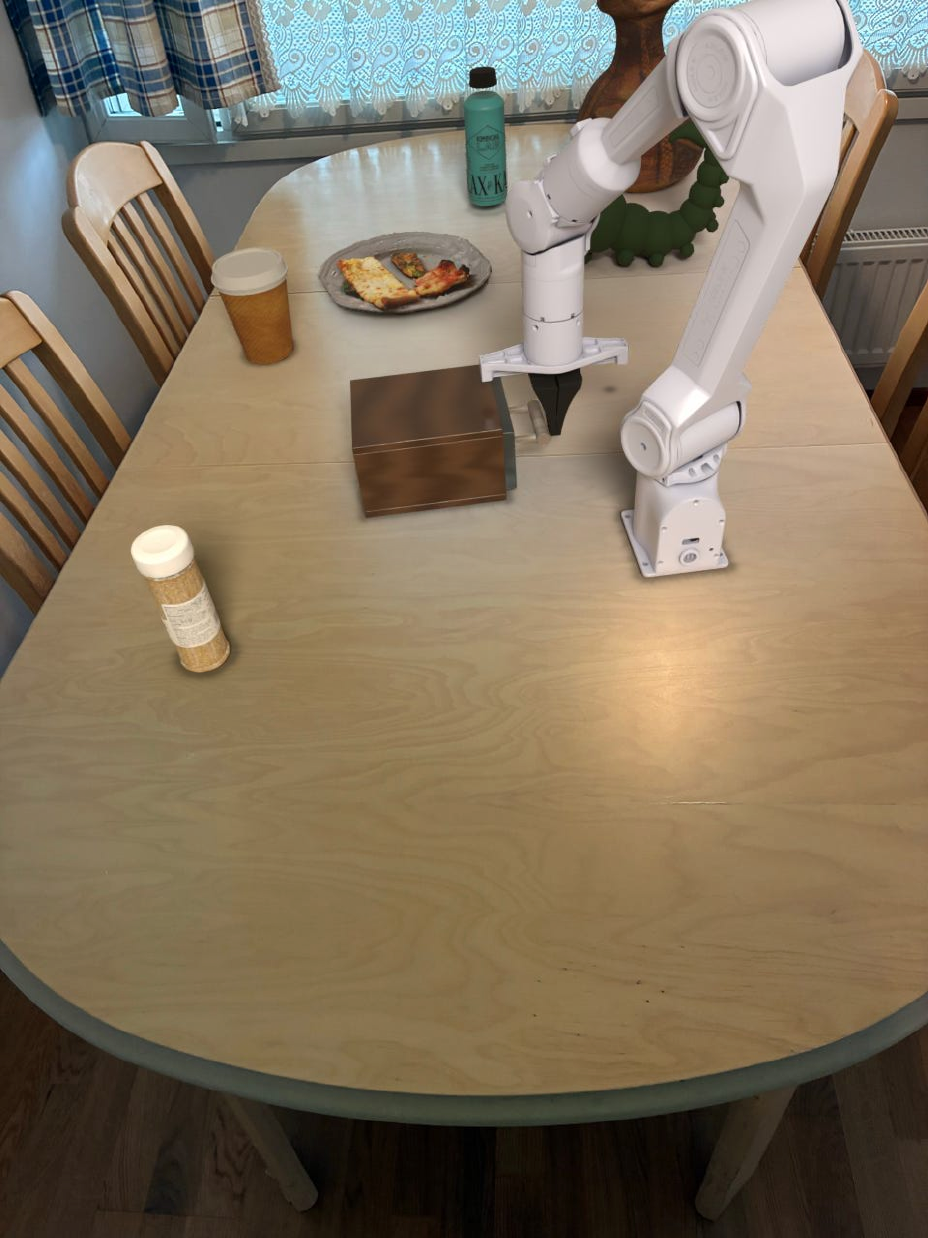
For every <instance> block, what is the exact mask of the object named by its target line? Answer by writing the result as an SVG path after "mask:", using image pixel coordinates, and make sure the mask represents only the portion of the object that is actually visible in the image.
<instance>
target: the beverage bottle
mask: <svg viewBox="0 0 928 1238" xmlns="http://www.w3.org/2000/svg"><path fill="white" fill-rule="evenodd" d="M496 71H497V70H496V68H495V67H492V66H477V67H473V68H472V69H470V70H469V78H468V87H470V88H471V89H476V90H480V91H475V92H472V93H470V94H469V95H468V96H467V98H466V99H465V100H464V102H463V106H462V107H463V108H462V109H463V117H464V135H465V136H464V137H465V144H464V146H465V156H464V157H465V160H466V163H465V166H466V167H465V168H466V169H465V172H466V184H467V185H466V187H467V188H466V189H467V193H468V199H469V202H470V203H471V204H472V205H475V206H479V207H489V206H496V205H499V204H501V203H504V202H506V199H507V196H508V191H509V190H508V189H509V185H508V183H509V181H508V178H509V177H508V170H507V161H508V160H507V159H508V158H507V157H508V154H507V151H508V149H507V147H506V146H507V144H506V143H507V142H506V141H507V140H506V139H507V135H506V126H505V124H506V123H505V100H504V99H503V97H502V96H501V95H500V94H499V93H497V92H496V91H494V90H482V89H490V88H494V87H495V86H497V85H498V80H497V72H496Z"/></svg>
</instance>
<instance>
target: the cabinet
mask: <svg viewBox="0 0 928 1238" xmlns="http://www.w3.org/2000/svg"><path fill="white" fill-rule="evenodd" d="M349 395H350V398H349V399H350V432H351V433H350V435H351V437H350V438H351V450H352V451H351V452H352V456H353V462H354V466H355V472H356V476H357V482H358V488H359V491H360V497H361V502H362V507H363V512H364V516H365V518H366V519H367V518H374V517H383V516H390V515H399V514H407V513H415V512H422V511H423V512H424V511H430V510H438V509H445V508H452V507H454V508H455V507H461V506H462V507H463V506H469V505H477V504H486V503H493V502H494V503H495V502H500V501H507V500H508V499H507V489H506V479H505V461H504V443H503V428H502V424H501V420H500V416H499V412H498V408H497V404H496V399H495V395H494V391H493V387H492V383H491V381H488V382H482V379H481V374H480V365H479V364H471V365H463V366H455V367H447V368H438V369H430V370H424V371H414V372H406V373H398V374H389V375H382V376H375V377H366V378H359V379H358V378H357V379H351V380H349Z"/></svg>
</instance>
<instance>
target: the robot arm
mask: <svg viewBox="0 0 928 1238" xmlns="http://www.w3.org/2000/svg"><path fill="white" fill-rule="evenodd" d="M665 54H666V56H665V57H664V58H663V59H662V60H661V62H660V63H659V64H658V65H657V66H656V68H655V69H654V70H653V71H652V72H651V73H650V75H649V76H648V77H647V78H646V79H645V81H644V82H643V83H642V84H641V85H640V86H639V88H638V89H637V90H636V91H635V92H634V94H633V95H632V96H631V97H630V98H629V99H628V101H627V102H626V103H625V104H624V105H623V107H622V108H621V109H620V110H619V111H618V112H617V114H616V115H615V116H614V117H613V118H612V119H610V118H596V119H593V120H592V119H591V118H589V119H586V120H583V121H580V122H577V123H576V122H575V124H574V125H573V126H572V127H571V128H570V130H569V133H570V135H571V138H572V139H570V140H569V141H568V142H567V143H566V144H565V146H564V147H563V148H561V150H560V151H559V152H558V153H556V154H553V155H549V156H548V157H547V158H546V159H545V160H544V161H543V163H542V165H543V169H542V170H541V171H540V173H539V174H538V176H537V177H534V178H531V179H520V180H518V181H515V182H514V183H512V185H511V189H510V190H509V192H507V197H506V200H505V205H504V206H505V207H504V208H505V209H504V211H505V219H506V220H505V221H506V224H507V228H508V231H509V234H510V235H511V238H512V239H513V241H514V243H516V245H517V246H518V247H519V248H520V266H521V267H520V269H521V271H520V272H521V296H522V298H521V299H522V325H523V326H522V331H523V332H522V333H523V342H522V343H519V344H516V345H513V346H510V347H506V348H504V349H500V350H498V351H493V352H490V353H484V354H483V353H482V354H479V355H478V363H479V365H480V374H481V379H482V382H488V381H492V380H493V377H500V378H501V377H507V376H515V375H524V374H527V375H528V378H529V383H530V385H531V388H532V390H533V392H534V395H535V396H536V398H537V399H538V401H539V403H540V406H541V408H542V410H543V411H544V414H545V421H546V425H547V429H548V432H549V435H550V437H558V436H561V435H562V430H563V426H564V422H565V418H566V415H567V414H568V411H569V408H570V406H571V404H572V402H573V400H574V398H575V397H576V395H577V394H578V393H579V391H580V390H581V388H582V384H583V375H582V372H581V368H583V367H588V366H597V365H604V364H612V363H615V364H616V365H617V366H623V365H628V363H629V350H630V349H629V348H630V347H629V344H628V342H627V340H626V339H625V337H624V336H623V337H621V336H620V337H593V336H584V301H585V300H584V298H585V297H584V296H585V294H584V292H585V289H584V288H585V264H584V256H585V255H586V253H587V252H588V250H590V237H591V234H592V232H593V230H594V229H595V228H596V226H597V224H598V221H599V218H600V212H601V211H603V210H604V209H605V208H606V207H607V206H608V205H610V204H611V203H612V202H613V201H614V200H615V199H616V198H618V197H619V196H620V195H621V194H624V193H626V192H625V191H626V190H627V189H628V188H629V187H630V186H631V185H633V183H634V182H635V181H636V179H637V177H638V175H639V172H640V167H641V155H643V154H644V153H645V152H646V151H648V150H649V149H650V148H651V147H653V146H654V145H655V144H656V143H658V142H659V141H660V140H661V139H663V138H664V137H665V136H666V135H668V134H669V133H670V132H671V131H673V130H674V129H675V128H676V127H678V126H679V125H680V124H681V123H683V122H684V121H685V120H686V119H688V118H689V117H691V119H692V121H693V122H694V124H695V125H696V127H697V129H698V130H699V132H700V133H701V135H702V137H703V138H704V140H705V141H706V143H707V145H708V146H709V148H710V149H711V151H712V152H713V154H714V156H715V157H716V159H717V160H718V162H719V164H720V165H721V167H722V168H723V170H724V172H725V173H726V175H727V176H728V177H729V178H731V179H734V180H736V181H738V184H739V191H738V193H737V195H736V197H735V201H734V203H733V205H732V208H731V211H730V213H729V215H728V219H727V221H726V223H725V225H724V229H723V231H722V233H721V236H720V238H719V241H718V243H717V246H716V249H715V252H714V254H713V257H712V259H711V261H710V264H709V266H708V269H707V271H706V275H705V277H704V279H703V282H702V285H701V287H700V290H699V292H698V294H697V297H696V300H695V302H694V305H693V308H692V310H691V313H690V315H689V318H688V321H687V323H686V326H685V328H684V329H683V330H684V331H683V333H682V336H681V338H680V341H679V343H678V346H677V348H676V350H675V354H674V356H673V359H672V361H671V364H670V365H669V366H668V367H667V368H666V369H665V370H664V371H663V372H662V373H661V374H660V375H659V376H658V377H657V378H656V379H655V380H654V381H653V382H652V383H651V384H650V385H649V386H648V387H647V388H646V389H645V391H643V393H642V394H641V396H640V398H639V399H640V400H639V401H638V403H637V405H636V406H635V407H634V408H633V409H631V410H630V411H628V412H627V413H626V414H625V415H624V417H623V419H622V420H621V423H620V442H621V447H622V450H623V453H624V455H625V458H626V459H627V461H628V462H629V463H630V464H631V466H632V468H634V469H635V470H636V481H635V482H636V483H635V496H634V509H626V510H625V509H624V510H622V511H621V513H620V518H621V520H622V523H623V525H624V529H625V531H626V534H627V537H628V539H629V540H628V541H629V542H630V545H631V548H632V550H633V553H634V556H635V558H636V561H637V564H638V567H639V570H640V572H641V575H642V576H643V577H644V578H655V577H663V576H669V575H677V574H685V573H693V572H700V571H701V572H702V571H708V570H716V569H724V568H727V567H728V566H729V562H730V561H729V559H728V557H727V555H726V552H725V550H724V549H723V540H724V533H725V528H726V523H727V522H726V521H727V513H726V509H725V507H724V504H723V502H722V499H721V497H720V492H719V477H720V471H721V465H722V459H723V457H724V456H725V455H726V454H727V453H728V447H729V441H732V440H734V439H736V438H737V437H739V436H740V435H741V434H742V432H743V430H744V428H745V426H746V421H747V405H748V404H747V403H748V400H749V397H750V394H751V393H752V391H753V388H754V387H753V385H752V383H751V381H750V379H749V378H748V377H747V375H746V373H745V372H744V370H745V368H746V366H747V364H748V362H749V359H750V358H751V355H752V354H753V352H754V349H755V348H756V345H757V344H758V342H759V340H760V337H761V336H762V333H763V332H764V329H765V327H766V325H767V323H768V321H769V319H770V317H771V315H772V312H773V311H774V309H775V306H776V305H777V303H778V300H779V298H780V296H781V295H782V293H783V290H784V288H785V286H786V284H787V283H788V281H789V278H790V276H791V274H792V272H793V270H794V268H795V267H796V266H795V265H796V263H797V261H798V259H799V257H800V256H801V253H802V252H803V249H804V247H805V245H806V243H807V241H808V239H809V237H810V235H811V233H812V231H813V229H814V227H815V225H816V223H817V221H818V218H819V216H820V214H821V212H822V210H823V208H824V206H825V204H826V202H827V200H828V199H829V196H830V194H831V192H832V190H833V188H834V185H835V182H836V180H837V176H838V172H839V166H840V165H839V164H840V154H841V147H842V146H841V145H842V136H843V135H842V134H843V126H844V113H845V105H846V95H847V90H848V87H849V85H850V84H851V81H852V79H853V76H854V74H855V73H856V70H857V68H858V66H859V63H860V62H861V59H862V57H863V54H864V48H863V45H862V42H861V39H860V35H859V32H858V29H857V26H856V22H855V19H854V15H853V13H852V9H851V6H850V4H849V1H848V0H747V1H744V2H741V3H738V4H735V5H732V6H729V7H727V6H726V7H712V8H709V9H708V10H704V11H703V12H701V13H700V14H698V15H697V16H695V18H693V20H692V21H691V22H690V23H689V25H688V26H687V27H686V29H685V31H682V32H681V33H678V34H677V35H676V36H674V37H673V38H672V39H671V40H669V42H668V43H667V46H666V51H665Z"/></svg>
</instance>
